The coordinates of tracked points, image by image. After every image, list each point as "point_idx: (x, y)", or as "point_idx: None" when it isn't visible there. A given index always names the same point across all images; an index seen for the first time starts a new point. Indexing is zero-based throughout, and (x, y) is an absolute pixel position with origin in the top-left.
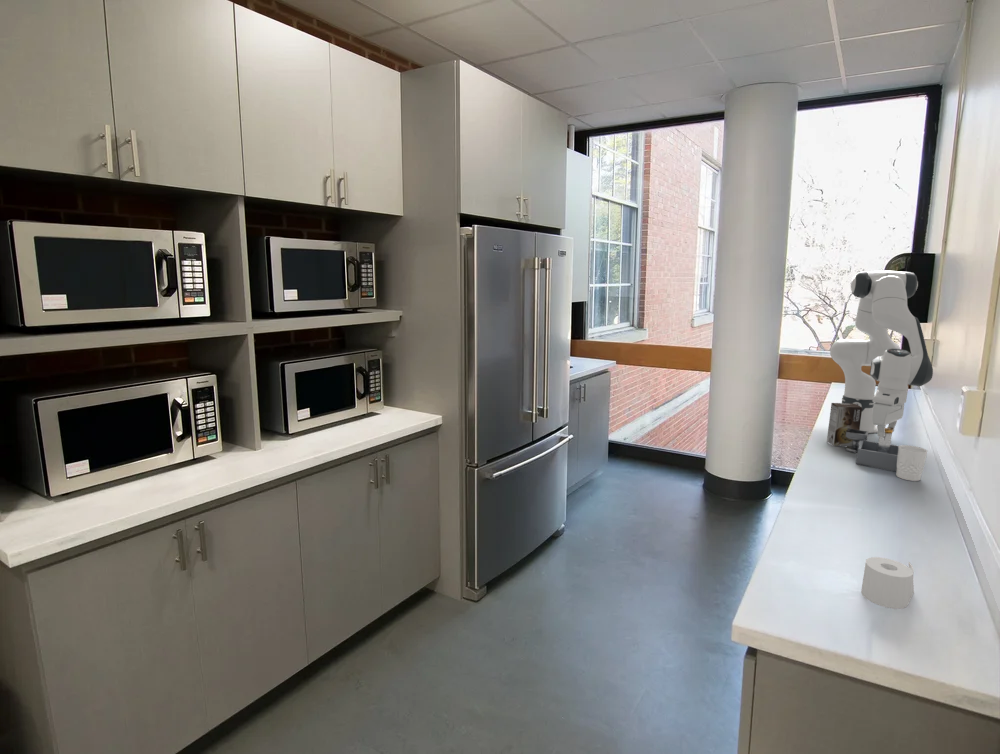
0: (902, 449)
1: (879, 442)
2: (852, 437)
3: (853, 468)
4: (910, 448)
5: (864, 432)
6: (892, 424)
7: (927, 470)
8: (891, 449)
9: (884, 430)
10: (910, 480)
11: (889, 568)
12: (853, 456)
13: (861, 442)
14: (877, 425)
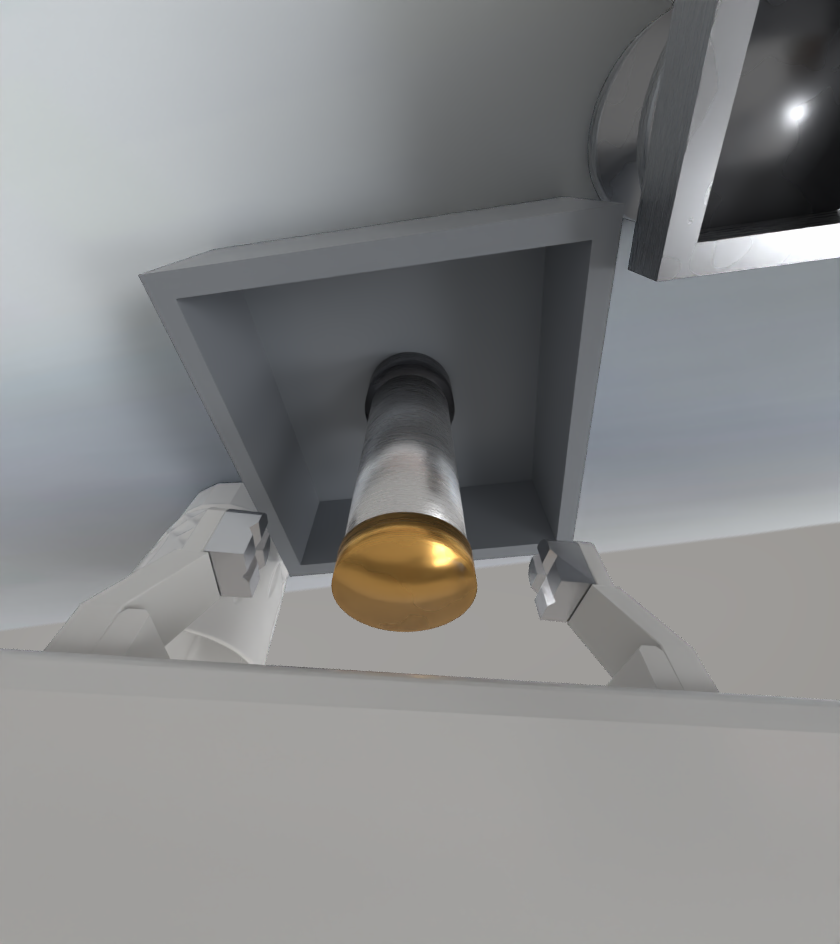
0: None
1: (370, 447)
2: (668, 53)
3: (83, 260)
4: (250, 641)
5: None
6: (605, 641)
7: None
8: (554, 454)
9: (186, 618)
10: None
11: None
12: (451, 167)
13: (481, 238)
14: (64, 625)
